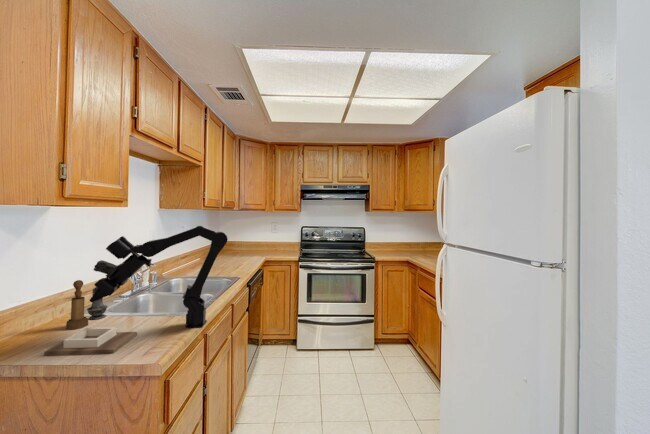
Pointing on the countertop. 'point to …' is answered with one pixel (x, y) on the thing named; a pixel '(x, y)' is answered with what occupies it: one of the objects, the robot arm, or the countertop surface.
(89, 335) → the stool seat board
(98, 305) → the salt shaker
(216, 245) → the robot arm
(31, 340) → the countertop surface
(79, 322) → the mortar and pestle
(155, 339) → the countertop surface
